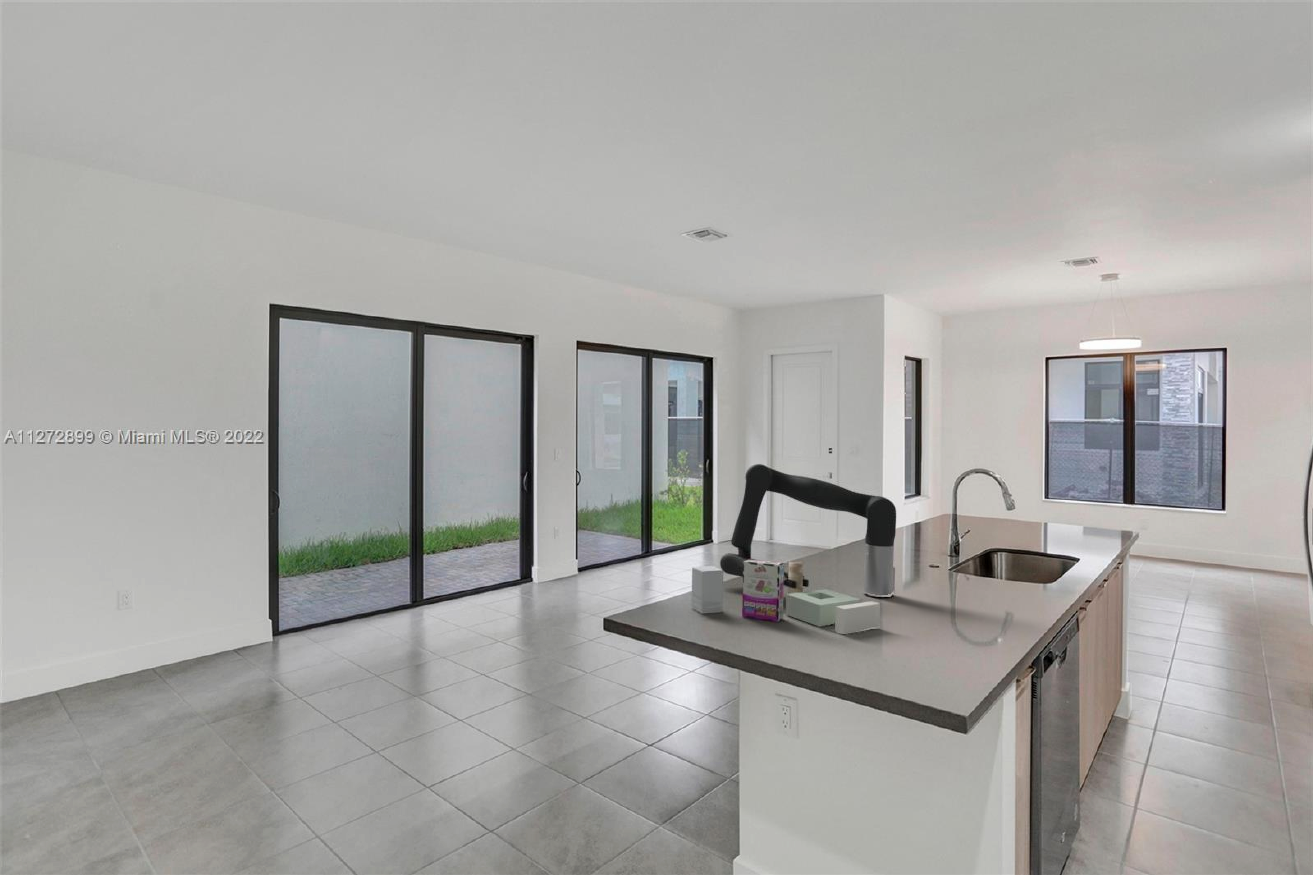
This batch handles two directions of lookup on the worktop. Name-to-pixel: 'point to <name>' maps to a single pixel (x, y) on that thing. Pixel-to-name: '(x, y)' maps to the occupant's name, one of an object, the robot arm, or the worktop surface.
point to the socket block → (817, 605)
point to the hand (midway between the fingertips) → (801, 584)
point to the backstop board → (857, 617)
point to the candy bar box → (763, 590)
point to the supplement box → (707, 589)
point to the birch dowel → (796, 576)
